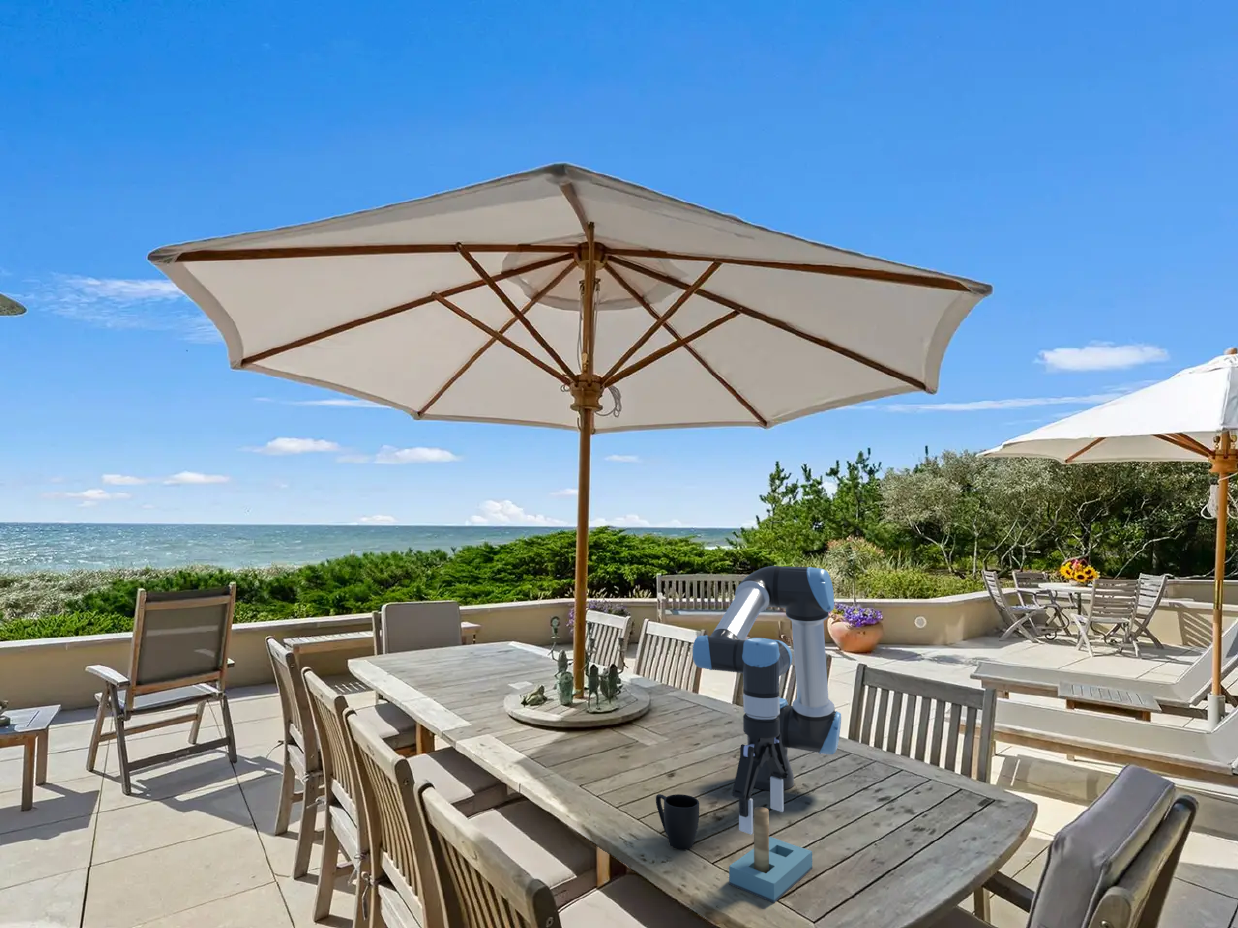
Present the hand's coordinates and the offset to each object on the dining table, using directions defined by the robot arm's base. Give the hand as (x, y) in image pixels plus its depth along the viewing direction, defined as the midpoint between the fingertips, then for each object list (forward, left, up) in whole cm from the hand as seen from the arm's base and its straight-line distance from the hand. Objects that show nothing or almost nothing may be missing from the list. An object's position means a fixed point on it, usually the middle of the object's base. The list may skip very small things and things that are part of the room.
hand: (762, 820), depth 132 cm
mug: (-3, -24, -12) cm, 27 cm away
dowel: (+1, 0, -12) cm, 12 cm away
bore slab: (-4, 0, -12) cm, 13 cm away
